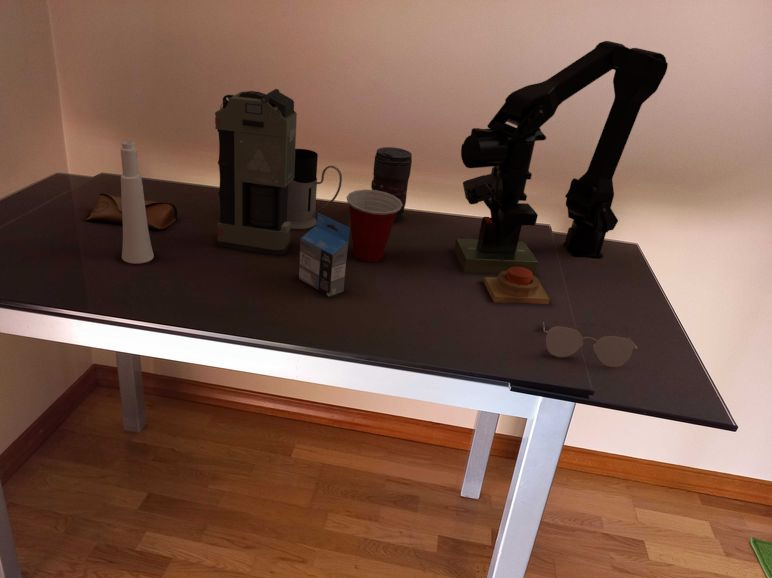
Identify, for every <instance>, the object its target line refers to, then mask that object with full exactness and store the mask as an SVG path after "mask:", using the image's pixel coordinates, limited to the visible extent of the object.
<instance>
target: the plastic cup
mask: <svg viewBox="0 0 772 578" xmlns="http://www.w3.org/2000/svg"><path fill="white" fill-rule="evenodd" d="M346 202H347V204H348V208H349V219H350V220H349V221H350V233H351V241H352V253H353V256H354V258H355V259H357V260H360V261H363V262H367V263H369V262H370V263H371V262H372V263H373V262H378V261H380V260H382V259H383V256H384V253H385V250H386V246H387V243H388V242H389V238H390V235H391V232H392V228H393V225H394V223H395V222H394V219H395V217H396V215H397V213H398V211H400V209H401V207H402V205H403V204H402V202H401V200H399V199H398V198H397V197H395V196H393V195H391V194H388V193H386V192H382V191H377V190H372V189H358V190H354V191H352V192H349V193H348V194H347V196H346Z"/></svg>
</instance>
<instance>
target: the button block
mask: <svg viewBox="0 0 772 578" xmlns="http://www.w3.org/2000/svg"><path fill="white" fill-rule="evenodd" d="M507 272H508V270H507V271H503V272H500V274H497V276H496V277H495V276H494V277H493V276H491V277H490V276H484V281H483V284H484V286H485V287H486V289H487V292H488V294H489V295H490V297H491V299H492V301H493V302H494V303H507V304H508V303H509V304H534V305H535V304H536V305H549V304H550V301H551V297H550V296H549V294H548V293H547V292H546V291H545V289H544V287H543V285H542V284H541V281H540V279H539V278H538V277H537V276H536V275H532V279H531V283H530V284H528V285H518V284H514V283H511V282H509V281H507V280H506V277H507Z"/></svg>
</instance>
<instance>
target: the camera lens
mask: <svg viewBox="0 0 772 578" xmlns="http://www.w3.org/2000/svg"><path fill="white" fill-rule="evenodd" d="M412 156H413V154H412V152H411V151H409V150H406V149H404V148H399V147H393V146H392V147H391V146H385V147H379V148H377V150H376V153H375V155H374V161H373V173H372V175H373V178H372V180H371V184H370V189H371V190H377V191H382V192H386V193H388V194H391V195H393V196H395V197H397V198H398V199H399V200H401V202H402V204H403V205H402V207H401V209H400V211H398V213H397V215H396V217H395V219H394V222H393V223H397V222H399V221H400V220H401V219H402V217H403V214H404V211H405V208H406V204H407V196H408V195H407V194H408V185H409V179H410V177H411V170H412V163H413V161H412Z"/></svg>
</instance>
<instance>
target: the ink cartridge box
mask: <svg viewBox="0 0 772 578" xmlns="http://www.w3.org/2000/svg"><path fill="white" fill-rule="evenodd" d="M329 226H333V228H334V229H337V231H336V230H334V229H333V228H330V227H329ZM350 232H351V227H350V226H346V225H345V224H343V223H340V222H339V221H336V220H334V219H332V218H331V217H328V216H326V215H324V214H322V213H320V212H317V213H316V225H315V226H313V227H311V229H310V230H309V231H308V232H306V233H305V234H304V235H303V236H301V238H300V242H299V243H300V245H299V246H300V247H299V248H300V249H299V267H298V279H299V280H300V281H301V282H303V283H304V284H307V285H309V286H311V287H312V288H314V289H315V290H317V291H318V292H321V293H322V294H324V295H325V296H327V297H334V296H337V295H339V294H342V293H344V291H345V282H346V281H345V280H346V268H347V260H348V259H347V257H348V248H349V239H350Z"/></svg>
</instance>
